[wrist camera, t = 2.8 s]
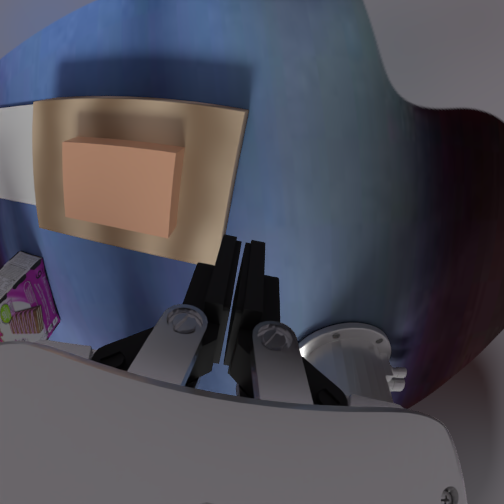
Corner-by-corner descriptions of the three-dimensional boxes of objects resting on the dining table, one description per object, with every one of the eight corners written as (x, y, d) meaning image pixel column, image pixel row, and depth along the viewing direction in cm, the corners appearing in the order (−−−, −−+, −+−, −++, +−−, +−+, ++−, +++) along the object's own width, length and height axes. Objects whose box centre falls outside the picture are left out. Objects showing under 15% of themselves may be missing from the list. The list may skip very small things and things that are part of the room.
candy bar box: (63, 321, 34) (8, 410, 20) (39, 312, 34) (-16, 392, 20) (44, 255, 28) (-38, 348, 14) (19, 248, 28) (-60, 330, 14)
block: (185, 147, 18) (175, 153, 16) (176, 226, 21) (168, 238, 19) (77, 136, 18) (62, 141, 16) (78, 206, 21) (65, 216, 19)
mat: (50, 102, 19) (48, 103, 19) (51, 207, 25) (50, 208, 25) (-13, 110, 19) (-15, 110, 18) (-9, 195, 24) (-10, 196, 24)
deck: (249, 110, 20) (244, 112, 17) (223, 246, 26) (216, 268, 23) (57, 97, 19) (33, 101, 16) (58, 212, 25) (39, 227, 22)
